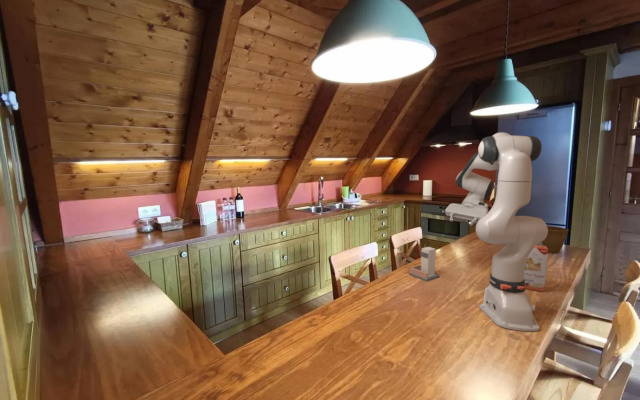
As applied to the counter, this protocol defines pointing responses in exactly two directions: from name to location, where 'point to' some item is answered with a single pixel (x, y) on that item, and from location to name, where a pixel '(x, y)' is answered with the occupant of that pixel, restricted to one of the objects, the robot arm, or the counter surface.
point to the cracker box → (536, 268)
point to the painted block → (428, 260)
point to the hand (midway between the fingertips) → (460, 222)
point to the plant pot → (555, 239)
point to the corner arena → (421, 273)
